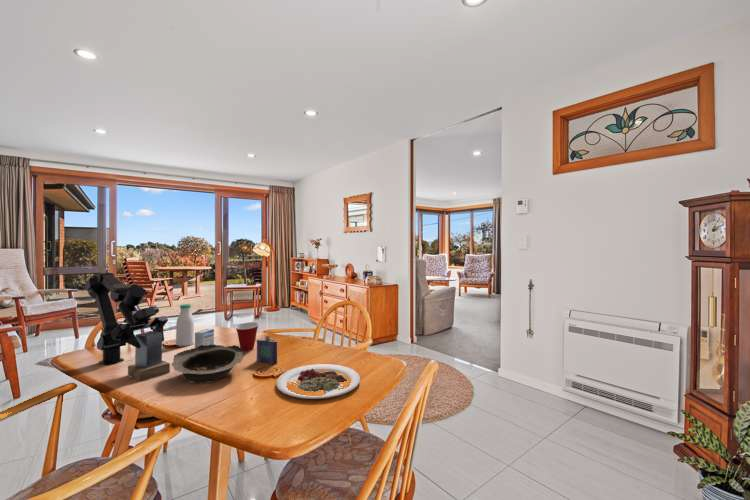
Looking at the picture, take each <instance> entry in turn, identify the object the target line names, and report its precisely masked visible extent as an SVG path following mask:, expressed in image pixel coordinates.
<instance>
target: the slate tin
mask: <svg viewBox="0 0 750 500" xmlns="http://www.w3.org/2000/svg"><path fill="white" fill-rule="evenodd" d="M135 337H136V338H137V340H138V342H139V343H140V346H141V347H140V348H139V349H138V348H136V347H134V348H135V354H134V355H135V359H134V364H135V366H136V367H141V368H149V367H152V366H155V365H158V364H161V363H162V361H163V360H162V359H163V355H162V354H163V342H162V332H155V331H153V330H149V331H144V332H140V333H138V334H135Z"/></svg>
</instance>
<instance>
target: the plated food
mask: <svg viewBox="0 0 750 500" xmlns="http://www.w3.org/2000/svg"><path fill="white" fill-rule="evenodd" d="M321 370H325V371H328V372H322V373H319V372H317V371H321ZM334 371H336V372H341V373H343V374H345V375H347V376H348V377H349V378H350V379H351V383H350V385H349V387H347V388H346V387H345V388H346V389H345V388H344V389H340V390H338V389H339V388H342V387H340V385H341V386H343V384H340V383H339V382H344V381H347V380H348V379H345V378H344V377H343V375H337V373H336V372H334ZM294 380H295V381H294ZM297 380H300V381H301V382H300V383H299V384H298V385H297V386H296V387H298V388H299V389H301V390H304V391H310V392H311V391H314V392H316V391H318V390H323V391H324V393H326V394H325V395H322V396H306V395H300V394H296V393H294V392H291V391H290V390H288V388H287V387H286V386H287V382H289V381H290V382H294V383H296V381H297ZM360 381H361V378H360V374H359V373H358V372H357V371H356V370H355V369H352V368H350V367H347V366H343V365H340V364H332V363H329V364H328V363H321V364H320V363H317V364H308V365H303V366H298V367H294V368H292V369H289V370H287V371H285V372H284V373H282V374H281V375H280V376H279V377H278V378H277V380H276V388H277V389H278V390H279V391H280V392H281V393H283V394H285V395H288V396H290V397H294V398H299V399H312V400H313V399H315V400H316V399H328V398H333V397H336V396H341V395H344V394H346V393H349V392H351V391H352V390H354V389H355V388H356V387H358V386H359V384H360ZM290 382H289V383H290ZM297 382H298V381H297ZM290 384H291V383H290ZM296 384H297V383H296ZM294 385H295V384H294ZM338 387H339V388H338Z"/></svg>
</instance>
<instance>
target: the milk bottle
mask: <svg viewBox="0 0 750 500" xmlns="http://www.w3.org/2000/svg"><path fill="white" fill-rule="evenodd" d="M191 306H192V305H191V303H182V304H180V305H179V308H180V309H179V310H180V313H179V315H178V316H177V319H176V324H175V325H176V326H175V327H176V329H175V331H176V332H175V345H176V346H177V345H178V346H177V347H188V346H191V345H194V344H195V319H194V316H193V314H192V312H191V308H192V307H191Z"/></svg>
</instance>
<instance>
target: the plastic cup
mask: <svg viewBox="0 0 750 500" xmlns="http://www.w3.org/2000/svg"><path fill="white" fill-rule="evenodd" d="M259 324H260V323H259V322H252V321H251V322H243V323H239V324H237V325H235V326H234V328H235V330H236V333H237V337H238V343H239V347H240V348H241V349H242V350H243V352H249V351H250V352H251V351H252V350H254V348H255V343H256V340H257V332H258V328H259Z"/></svg>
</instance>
